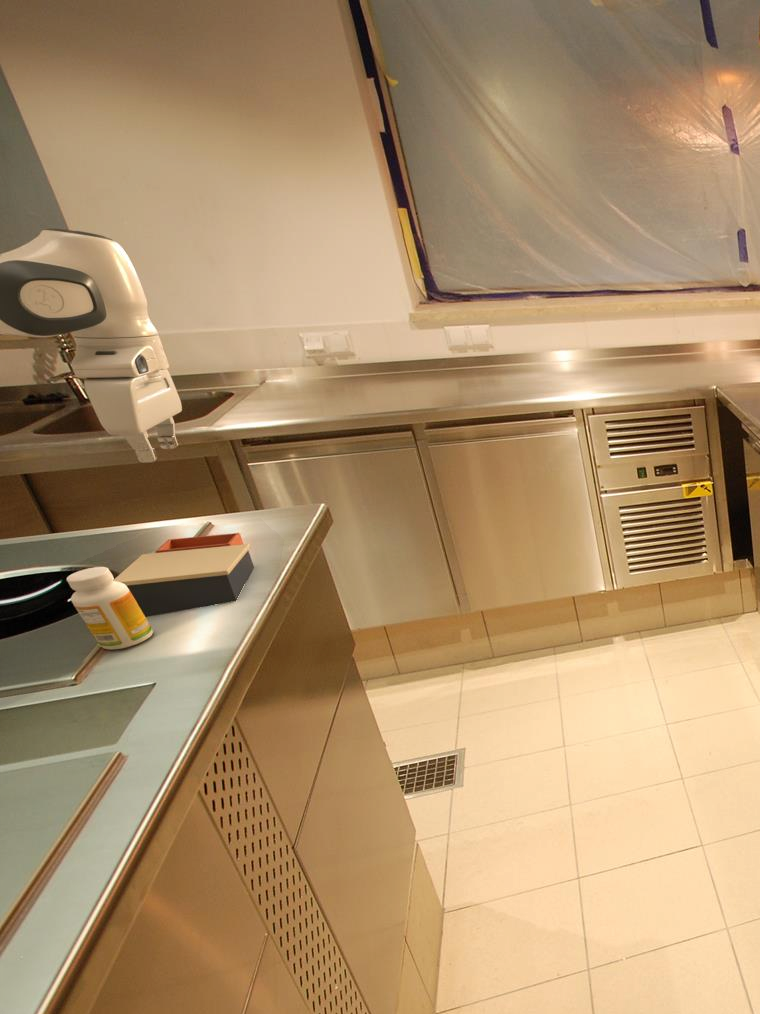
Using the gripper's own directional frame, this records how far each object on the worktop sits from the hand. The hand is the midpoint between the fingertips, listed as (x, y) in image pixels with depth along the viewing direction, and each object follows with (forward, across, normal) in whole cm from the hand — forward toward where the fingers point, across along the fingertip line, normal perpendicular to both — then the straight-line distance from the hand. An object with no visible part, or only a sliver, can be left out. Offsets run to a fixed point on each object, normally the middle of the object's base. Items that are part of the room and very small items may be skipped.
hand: (160, 454), depth 124 cm
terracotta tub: (+19, 0, +1) cm, 19 cm away
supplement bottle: (+19, +27, -2) cm, 33 cm away
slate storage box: (+19, +14, +3) cm, 23 cm away
